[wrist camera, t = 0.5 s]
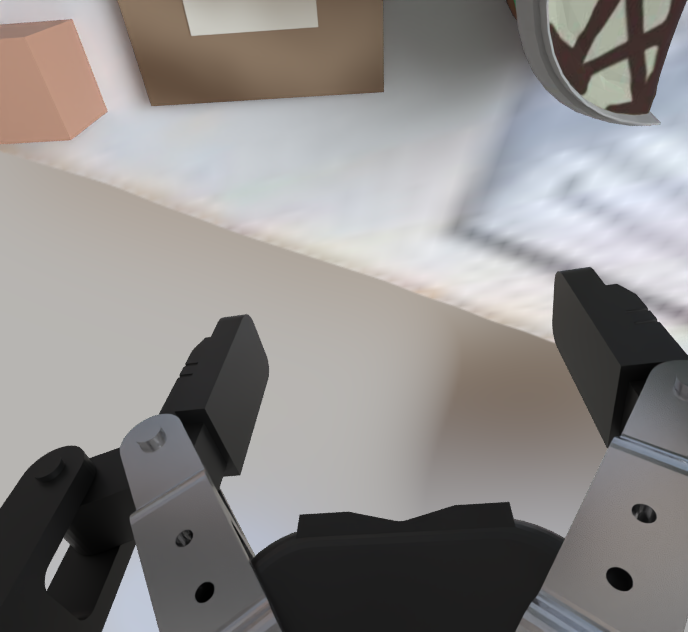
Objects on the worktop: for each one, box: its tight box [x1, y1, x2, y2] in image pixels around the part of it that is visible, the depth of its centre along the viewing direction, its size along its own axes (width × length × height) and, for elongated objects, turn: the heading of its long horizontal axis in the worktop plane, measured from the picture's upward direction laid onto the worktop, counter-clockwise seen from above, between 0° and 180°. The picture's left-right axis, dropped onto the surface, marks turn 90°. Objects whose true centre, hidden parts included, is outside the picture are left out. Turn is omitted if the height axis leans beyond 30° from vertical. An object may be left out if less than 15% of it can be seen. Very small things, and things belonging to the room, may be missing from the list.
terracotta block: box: [0, 19, 107, 144], centre depth 26 cm, size 5×5×5 cm
